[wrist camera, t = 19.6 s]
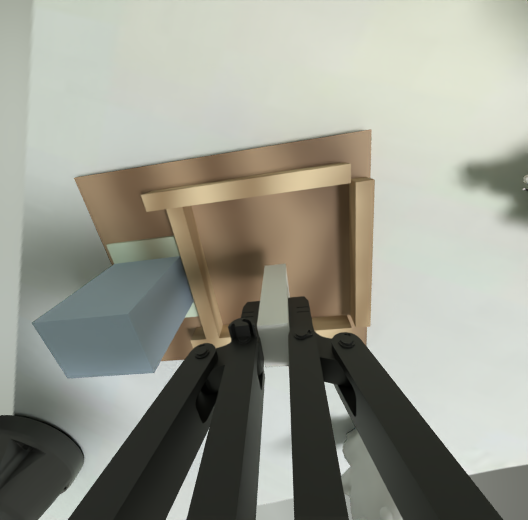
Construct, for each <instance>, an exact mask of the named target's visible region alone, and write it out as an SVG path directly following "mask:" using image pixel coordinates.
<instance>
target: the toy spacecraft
mask: <svg viewBox="0 0 528 520" xmlns="http://www.w3.org/2000/svg"><path fill="white" fill-rule="evenodd" d="M523 180H524V182H525V183H527V184H528V175H526V176H524V177H523ZM522 190H527V191H528V189H525V188H522Z"/></svg>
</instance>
